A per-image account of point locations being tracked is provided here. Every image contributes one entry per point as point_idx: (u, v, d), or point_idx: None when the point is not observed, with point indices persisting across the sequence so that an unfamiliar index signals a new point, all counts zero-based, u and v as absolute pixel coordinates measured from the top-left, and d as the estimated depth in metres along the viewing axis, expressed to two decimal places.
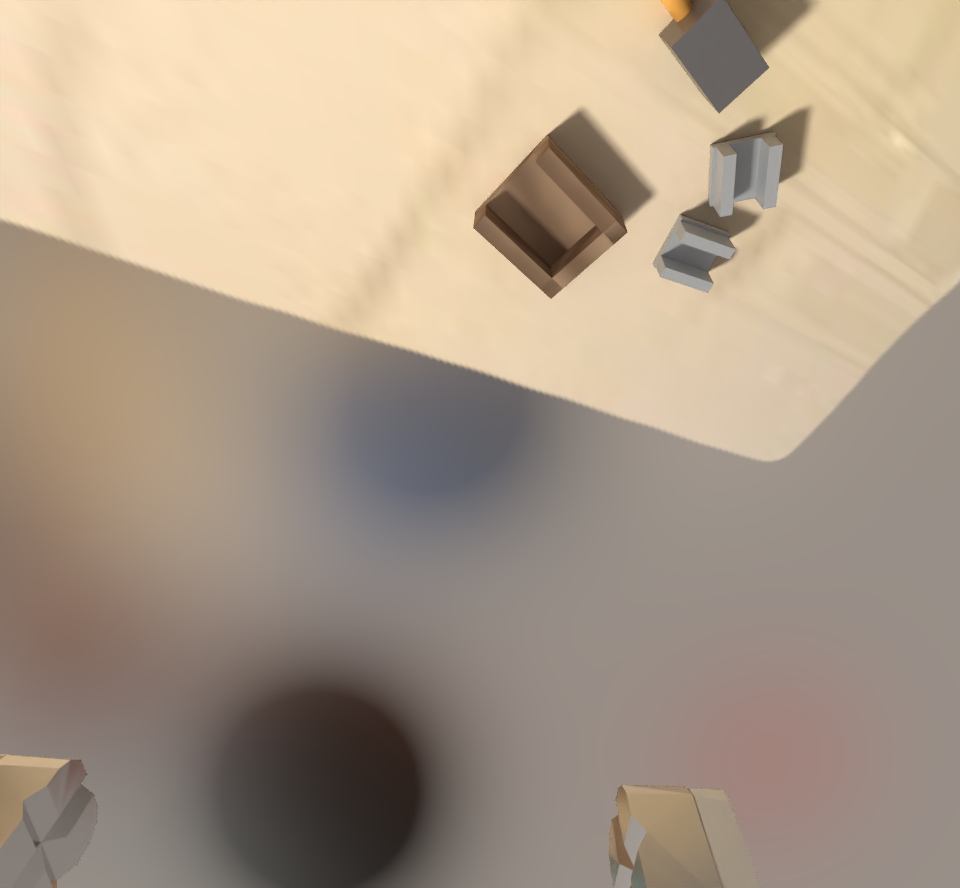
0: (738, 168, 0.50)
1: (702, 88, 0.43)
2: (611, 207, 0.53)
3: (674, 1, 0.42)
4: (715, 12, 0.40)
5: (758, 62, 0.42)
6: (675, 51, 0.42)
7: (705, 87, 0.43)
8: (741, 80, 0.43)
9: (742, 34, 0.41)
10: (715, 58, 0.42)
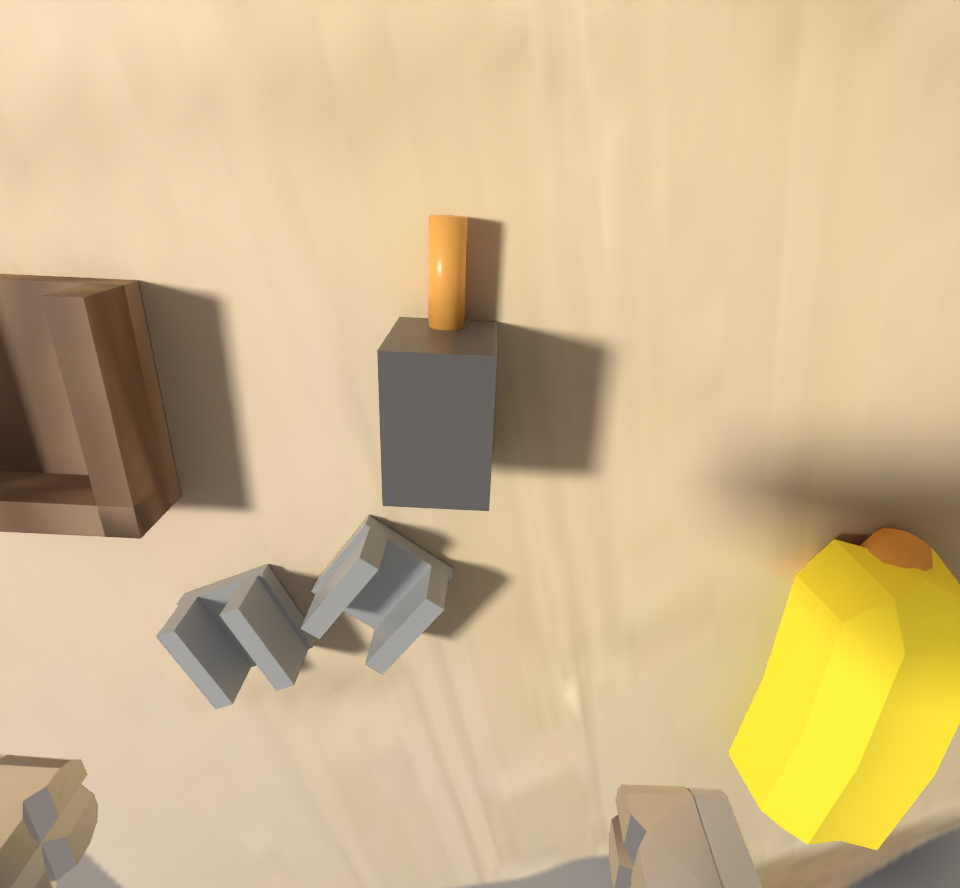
0: (379, 577, 0.29)
1: (383, 451, 0.21)
2: (164, 474, 0.27)
3: (442, 296, 0.22)
4: (471, 368, 0.20)
5: (480, 491, 0.22)
6: (380, 362, 0.20)
7: (387, 454, 0.21)
8: (442, 493, 0.22)
9: (486, 435, 0.21)
10: (430, 430, 0.21)
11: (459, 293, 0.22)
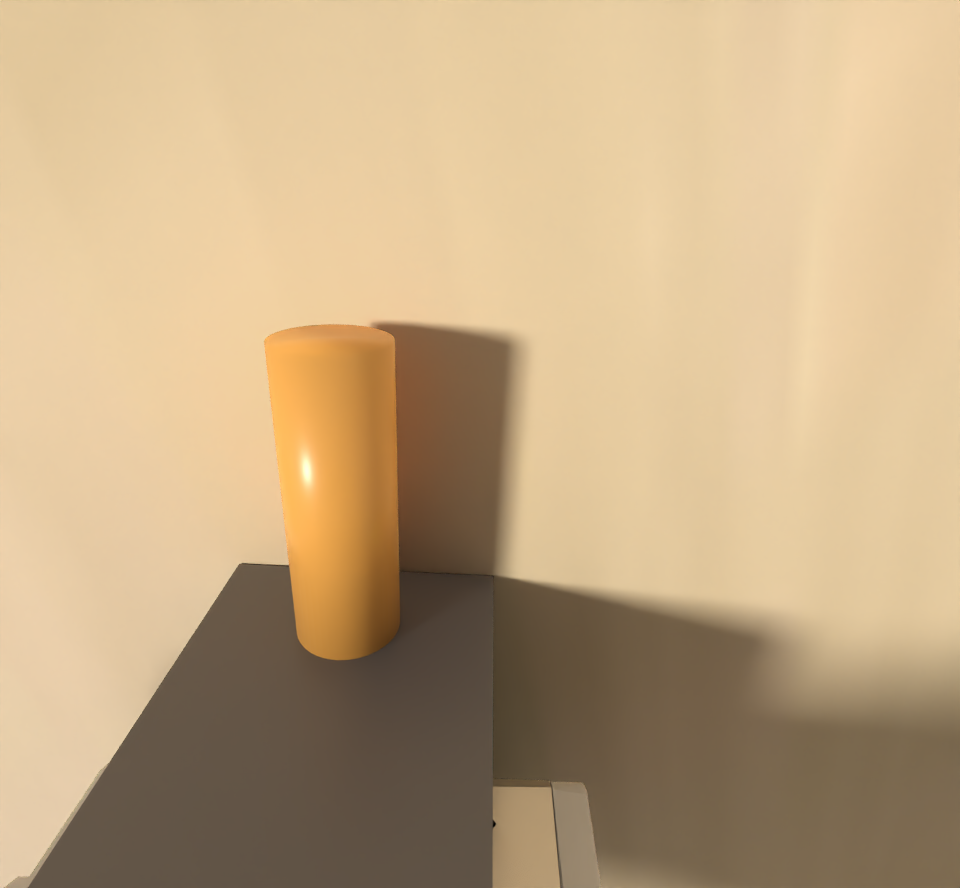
0: None
1: None
2: None
3: (321, 577, 0.07)
4: None
5: None
6: None
7: None
8: None
9: None
10: None
11: (377, 561, 0.07)
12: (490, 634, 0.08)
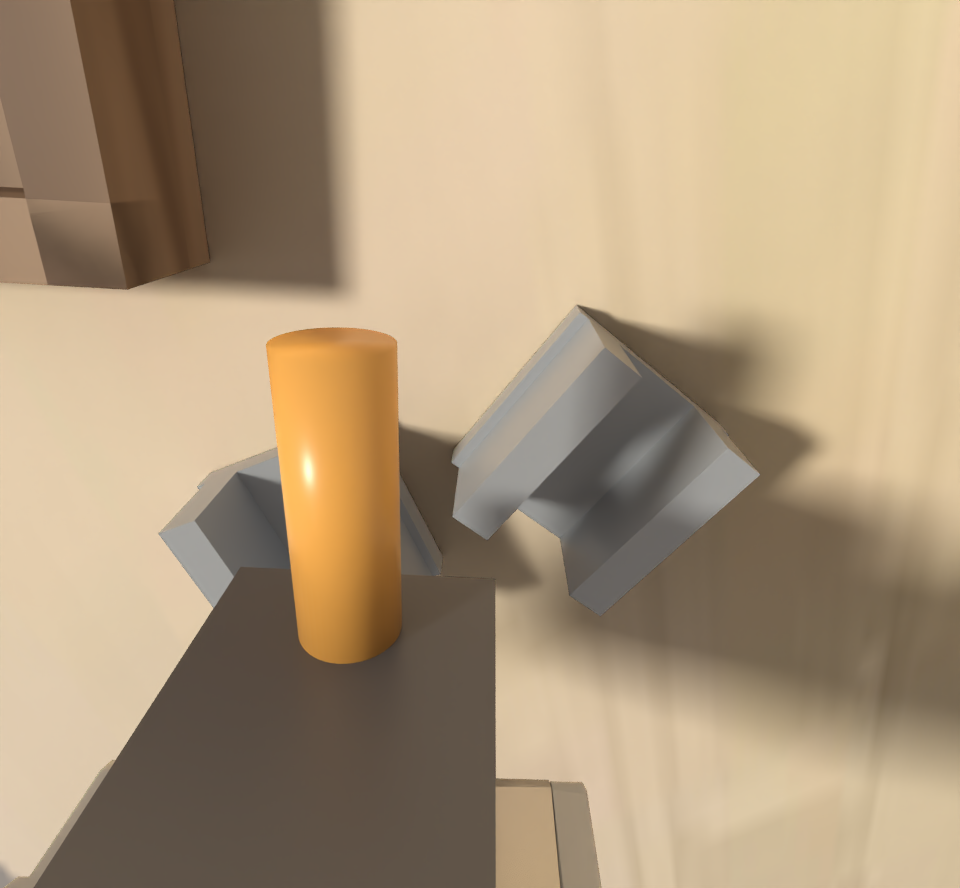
0: None
1: None
2: (179, 187, 0.13)
3: (323, 581, 0.07)
4: None
5: None
6: None
7: None
8: None
9: None
10: None
11: (379, 564, 0.07)
12: (492, 637, 0.08)
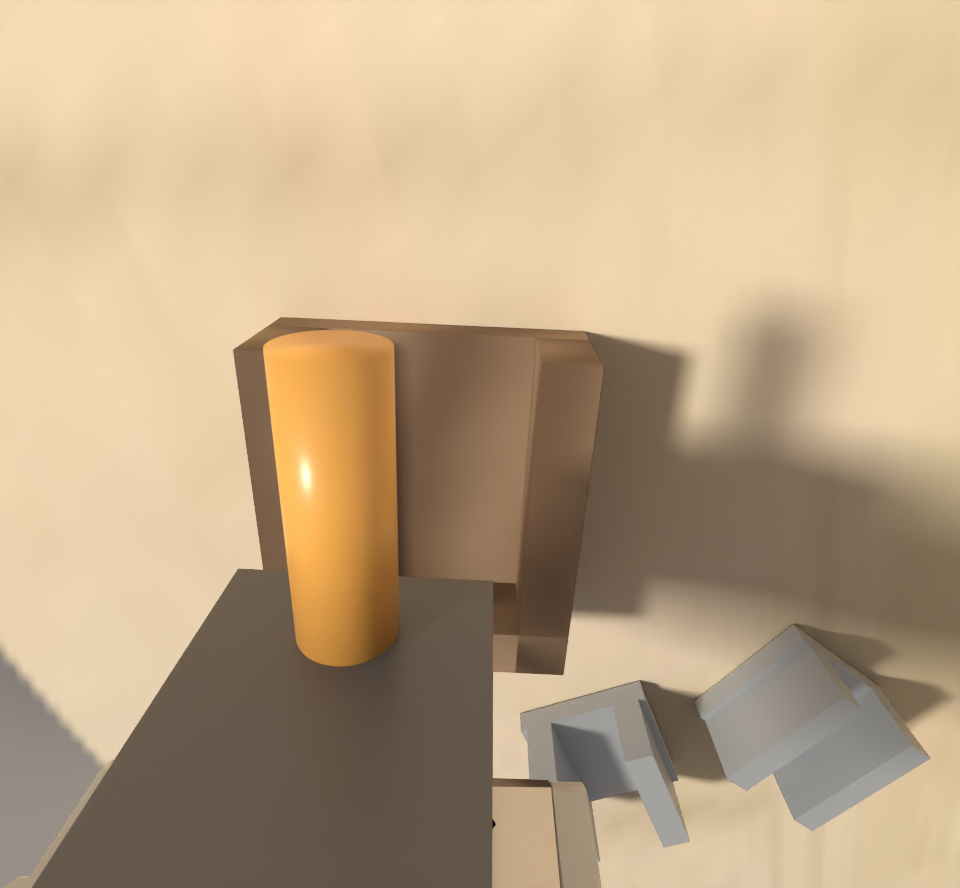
0: None
1: None
2: None
3: (320, 583, 0.07)
4: None
5: None
6: None
7: None
8: None
9: None
10: None
11: (376, 567, 0.07)
12: (490, 640, 0.08)
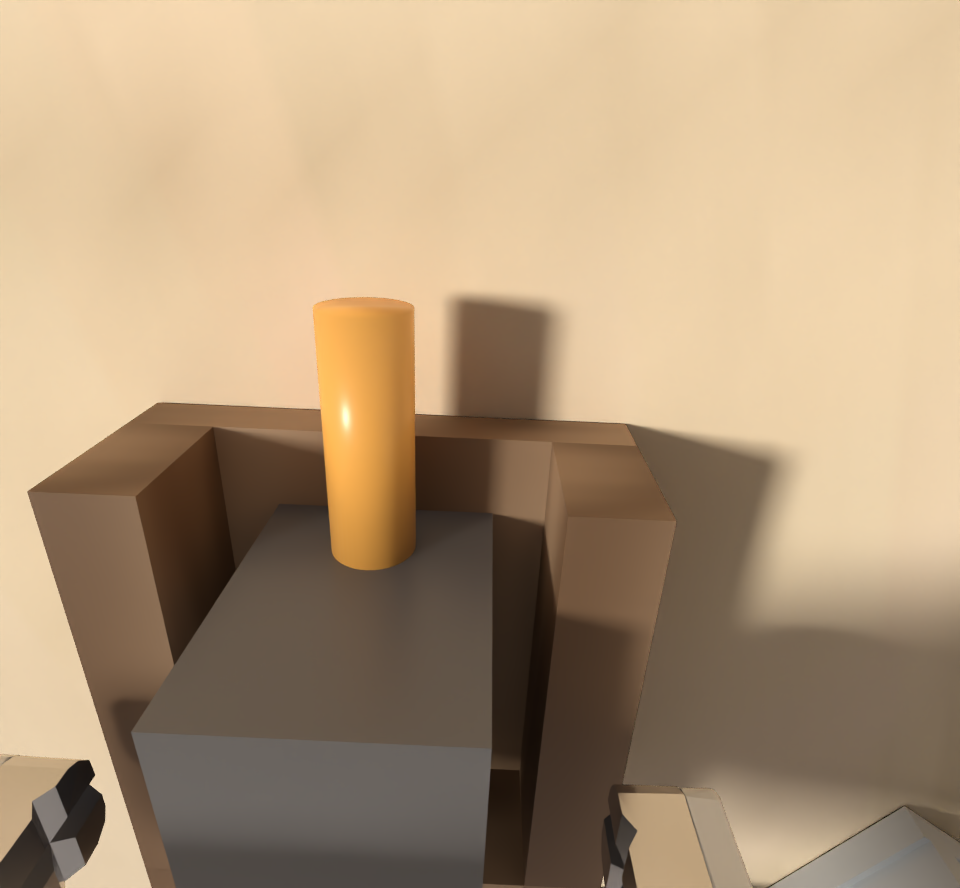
0: None
1: None
2: None
3: (355, 499, 0.09)
4: (416, 775, 0.07)
5: None
6: (145, 757, 0.07)
7: None
8: None
9: None
10: None
11: (398, 487, 0.09)
12: (490, 553, 0.10)
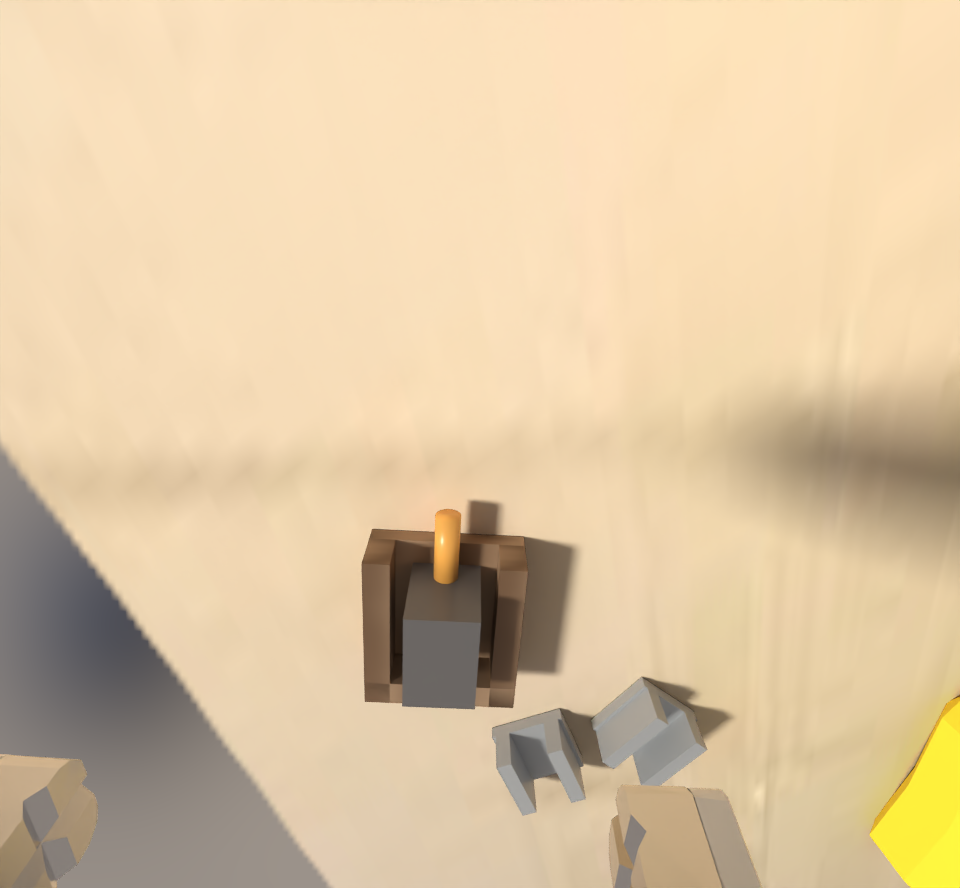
0: None
1: (404, 674, 0.32)
2: None
3: (443, 564, 0.33)
4: (464, 629, 0.31)
5: (469, 697, 0.33)
6: (404, 625, 0.31)
7: (406, 676, 0.32)
8: (443, 698, 0.33)
9: (473, 665, 0.32)
10: (436, 662, 0.32)
11: (455, 561, 0.33)
12: (480, 579, 0.34)
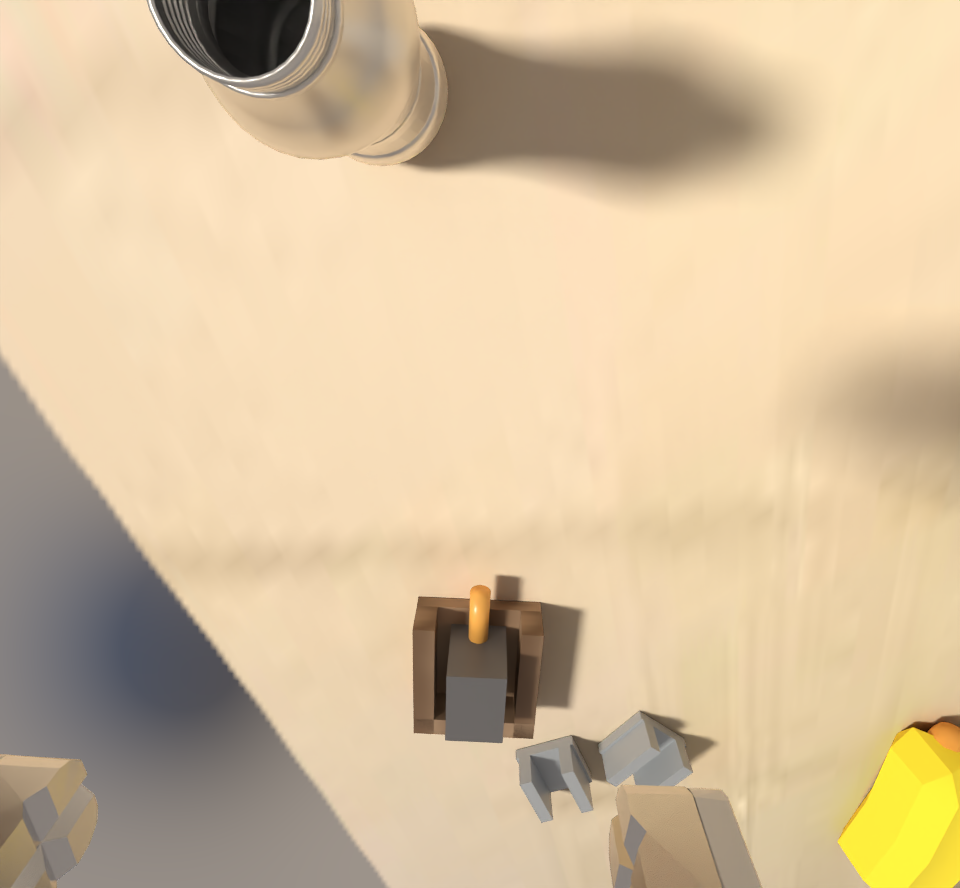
0: None
1: (446, 717, 0.41)
2: None
3: (477, 629, 0.41)
4: (494, 683, 0.39)
5: (498, 734, 0.41)
6: (447, 681, 0.39)
7: (449, 718, 0.41)
8: (477, 735, 0.41)
9: (501, 710, 0.40)
10: (472, 708, 0.40)
11: (486, 626, 0.42)
12: (505, 638, 0.42)
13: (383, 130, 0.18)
